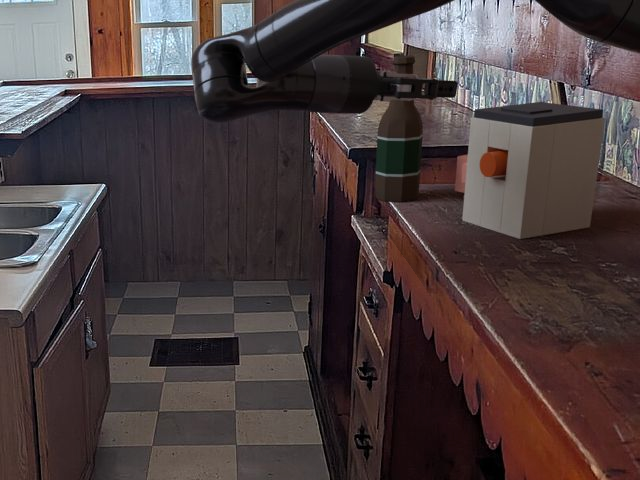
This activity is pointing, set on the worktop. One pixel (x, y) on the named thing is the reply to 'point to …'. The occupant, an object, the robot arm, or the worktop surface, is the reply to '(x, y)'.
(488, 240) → the worktop surface
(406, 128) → the beer bottle
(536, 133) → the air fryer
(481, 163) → the power button
